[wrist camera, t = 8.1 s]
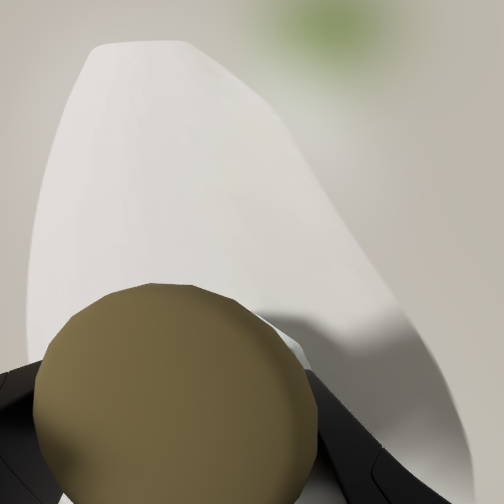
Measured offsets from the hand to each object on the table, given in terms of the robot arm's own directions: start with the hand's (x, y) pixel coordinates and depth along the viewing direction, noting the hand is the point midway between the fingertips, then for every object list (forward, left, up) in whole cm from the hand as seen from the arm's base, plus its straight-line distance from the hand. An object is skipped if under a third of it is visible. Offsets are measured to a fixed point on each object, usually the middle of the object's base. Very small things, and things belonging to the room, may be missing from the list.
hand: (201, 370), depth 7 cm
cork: (-1, -1, -7) cm, 7 cm away
